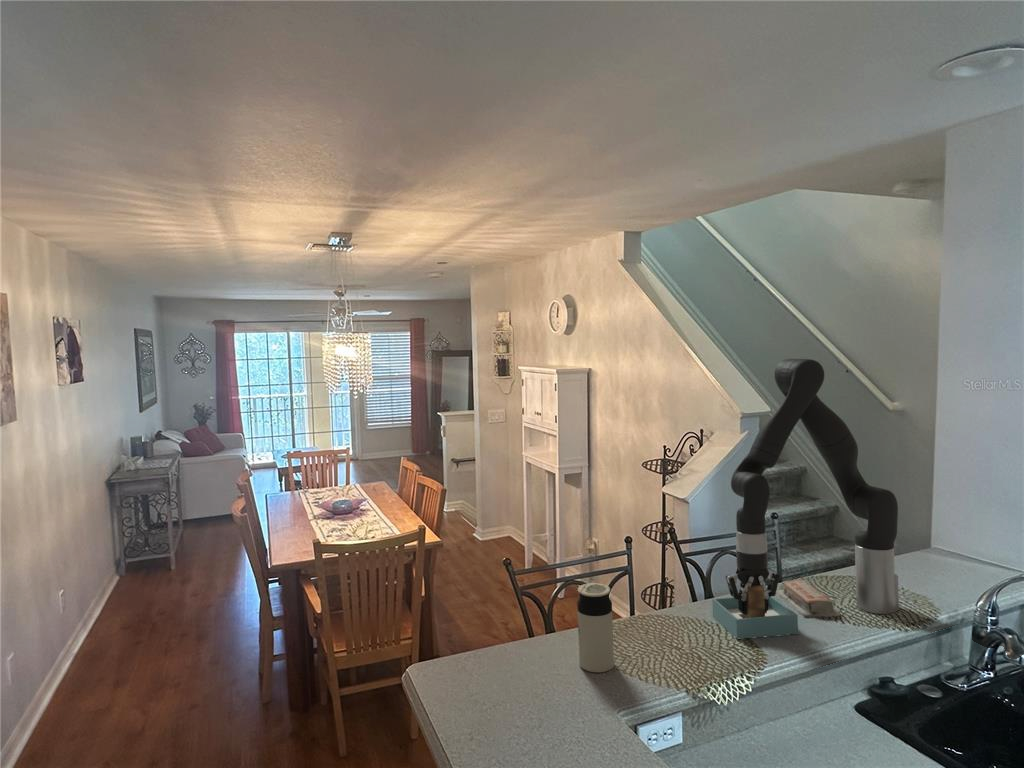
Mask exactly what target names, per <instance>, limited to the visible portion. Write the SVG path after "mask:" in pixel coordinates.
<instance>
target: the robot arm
mask: <svg viewBox="0 0 1024 768" xmlns="http://www.w3.org/2000/svg"><path fill="white" fill-rule="evenodd" d="M774 380H775V383H776V385H777V387H778V389H779V391H780V392H781V393H782V394H783V396H784V397H785V398H784V401H783V402H782V403H781V405H780V406H779V407H778V409H777V410H776V411H775V412H774V413H773V414H772V416H771V417H769V418H768V420H766V422H765V423H764V424H763V425H762V427H761V428H760V429H759V431H758V433H757V435H756V436H755V439H754V441H753V443H752V445H751V447H750V450H749V452H748V453H747V455H746V456H745V457H744V458H743V459H742V461H741V462H740V463H739V464H738V465H737V467H736V468H735V470H734V472H733V474H732V476H731V479H730V480H731V481H730V486H731V487H730V488H731V490H732V492H733V493H734V494H735V495H737V496H739V497H741V498H743V504H742V506H741V507H740V508H739V509H737V511H736V514H735V515H736V517H735V519H736V521H735V522H736V536H735V547H736V548H735V551H736V552H735V553H736V554H735V555H736V557H735V558H736V566H737V567H736V572H735V573H733V574H731V575H730V574H726V575H725V579H726V583H727V587H728V590H729V594H730V597H734V598H735V599H736V600H737V599H738V608H739V611H740V612H741V613H742V614H743V615H747V601H745V600H746V597H747V594H748V593H749V587H751V586H754V585H760V586H764V598H765V613H767V611H768V599H769V597H771V596H772V597H775V596H776V594H777V592H776V590H778V585H779V580H780V574H779V573H778V572H775V571H774V570H771V571H770V570H768V566H769V565H768V539H767V534H766V533H767V532H766V513H767V509H768V506H769V501H770V496H771V495H770V494H771V490H770V485H769V481H768V480H767V479H766V477H765V476H763V473H764V472H765V471H766V470H767V469H771V468H774V467H775V465H776V464H777V462H778V460H779V458H780V456H781V453H782V452H783V450H784V447H785V445H786V443H787V441H788V438H789V437H790V436H791V434H792V431H793V430H794V428H795V427H796V425H797V423H798V422H799V421H801V422H802V424H803V426H804V428H805V429H806V431H807V433H808V434H809V436H810V437H811V440H812V442H813V443H814V445H815V447H816V448H817V450H818V452H819V454H820V455H821V457H822V458H823V460H824V462H825V464H826V465H827V468H828V469H829V471H830V472H831V474H832V477H833V478H834V480H835V481H836V484H837V486H838V488H839V490H840V493H841V494H842V498H843V500H844V502H845V505H846V506H847V508H848V510H849V511H850V512H851V514H853V515H854V516H856V517H858V518H861V519H863V520H867V529H866V530H862V531H861V530H860V531H857V532H856V533H855V534H854V554H855V555H854V560H855V562H854V563H855V564H854V565H855V603H856V604H855V605H856V607H857V608H859V609H860V610H862V611H865V612H868V613H872V614H877V615H879V614H880V615H889V614H893V613H895V612H896V611H899V610H900V602H899V601H900V599H899V597H900V594H899V593H900V592H899V575H898V574H896V573H895V571H896V569H895V568H896V567H895V541H896V538H897V536H898V535H897V534H898V518H899V517H898V516H899V507H898V500H897V497H896V495H895V494H894V493H893V491H891V490H890V489H889V490H888V489H885V488H881V487H877V486H872V485H870V484H868V483H867V481H865V479H864V478H863V475H862V473H861V472H860V470H859V469H858V457H859V447H858V443H857V441H856V439H855V437H854V436H853V434H852V431H850V429H849V427H848V426H847V424H846V422H845V421H844V420H843V419H842V418H841V417H840V416H839V415H837V414H836V413H835V412H834V411H833V410H832V409H831V408H830V407H828V406H827V405H826V404H825V402H823V401H822V400H821V399H820V397H819V396H818V395H817V394H818V392H819V391H820V389H821V388H822V386H823V383H824V380H825V371H824V367H823V366H822V365H821V363H820V362H819V361H817V360H814V359H810V358H786V359H784V360H781V361H779V362H778V364H777V365H776V366H775V369H774ZM767 579H768V582H767V586H766V583H765V582H766V580H767ZM738 580H739V585H738V588H737V585H736V584H737V582H738ZM743 585H744V586H745V588H744V586H743Z"/></svg>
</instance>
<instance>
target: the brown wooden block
mask: <svg viewBox="0 0 1024 768" xmlns="http://www.w3.org/2000/svg"><path fill="white" fill-rule="evenodd" d="M743 586H744V585H743ZM744 588H745V586H744ZM745 601H747V615H743V618H753V617H764V616H765V598H764V586H760V585H754V586H751V587H749V593H748V594H747V597H746V600H745Z"/></svg>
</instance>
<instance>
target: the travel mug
mask: <svg viewBox="0 0 1024 768" xmlns="http://www.w3.org/2000/svg"><path fill="white" fill-rule="evenodd" d="M577 592H578V594H579V598H578V600H577V602H576V604H577V605H576V606H577V609H576V610H577V631H578V634H577V635H578V655H579V656H578V658H579V667H580V668H582V669H583V670H585V671H587V672H589V673H605V672H608V671H610V670H612V669H613V668H614V666H615V653H614V649H615V648H614V626H613V625H614V623H613V620H614V619H613V602H612V600H611V598H610V592H611V588H610V587H609V585H606V584H605V583H599V582H598V583H597V582H596V583H595V582H592V583H591V582H590V583H584V584H582V585H580V586H578V588H577Z"/></svg>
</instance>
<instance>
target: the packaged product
mask: <svg viewBox="0 0 1024 768" xmlns="http://www.w3.org/2000/svg"><path fill="white" fill-rule="evenodd" d="M782 588H783V589H779V590H778V589H777V590H776V594H778V596H780V597H781V598H782V599H783V600H784V601H786V602H787V603H788V604H789V605H790V606H791V607H792V608H793V609H794V610H795V611H797V612H798V613H799V614H800V616H802V617H804V618H819V617H820V618H823V617H824V616H825V617H826V618H827V617H841V611H840V610H838V608H836V607H835V606H834V604H833V601H832V600H831V599H829V597H827V596H826V595H824V594H823V593H822V592H821V591H819V590H818V589H817V588H815V587H814V586H813V585H811V584H810V583H809V582H808V581H806V580H805V579H804V580H803V579H801V578H800V579H799V578H798V579H794V580H790V581H787V582H784V583H783V585H782Z"/></svg>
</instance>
